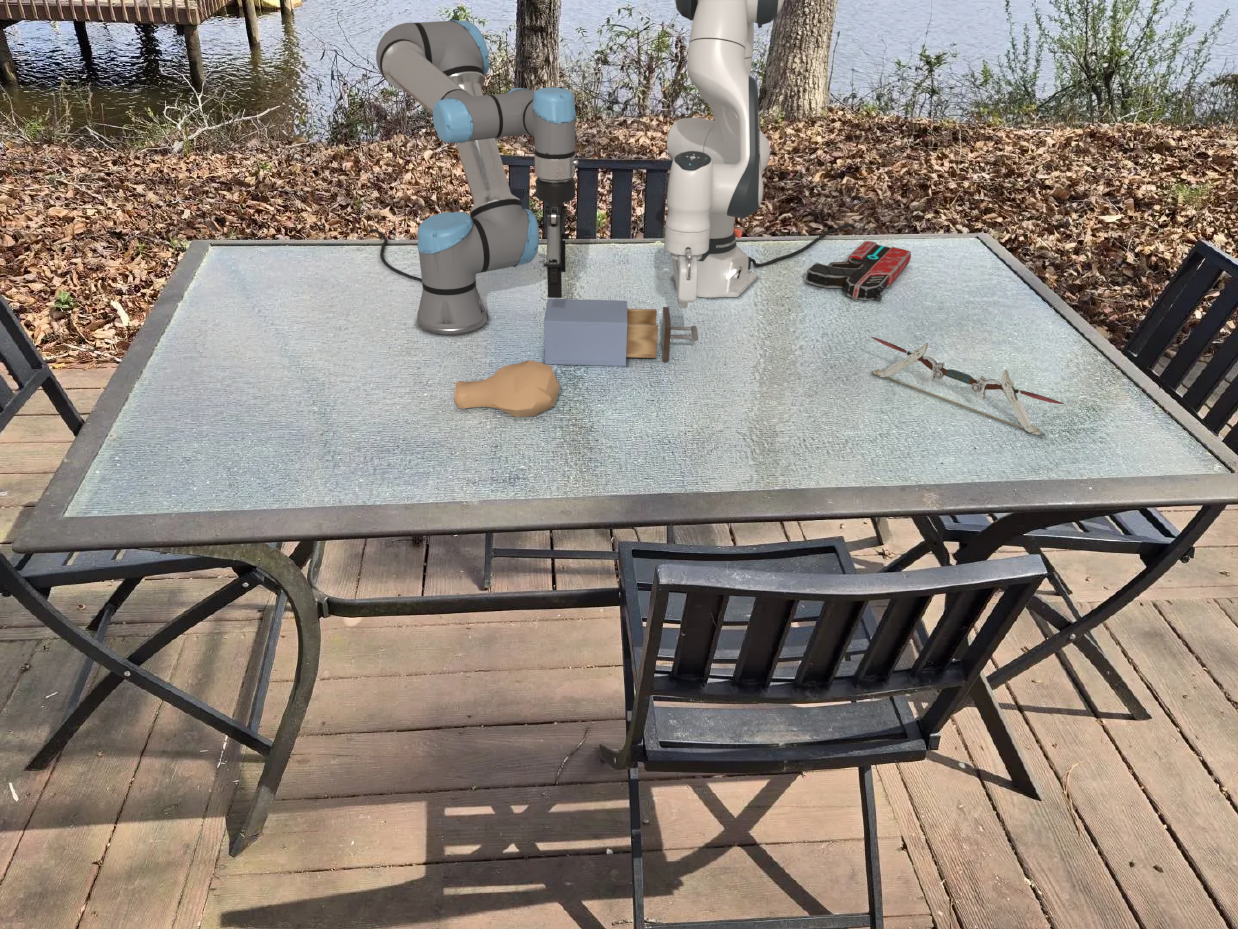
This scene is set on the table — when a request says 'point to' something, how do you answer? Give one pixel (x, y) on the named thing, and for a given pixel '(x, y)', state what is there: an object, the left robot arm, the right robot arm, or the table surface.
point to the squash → (512, 390)
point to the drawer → (651, 333)
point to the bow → (976, 386)
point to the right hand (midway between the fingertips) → (682, 305)
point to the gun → (862, 271)
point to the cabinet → (585, 332)
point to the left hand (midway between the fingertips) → (557, 283)
